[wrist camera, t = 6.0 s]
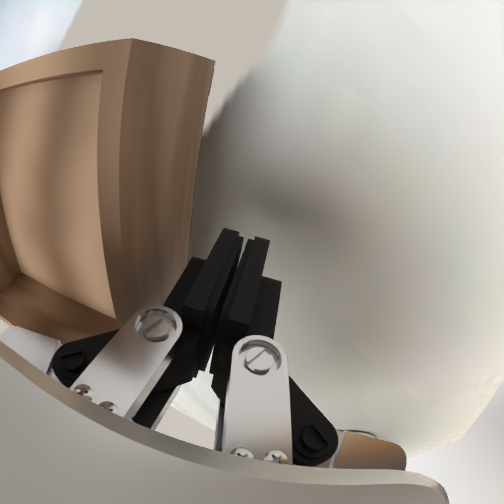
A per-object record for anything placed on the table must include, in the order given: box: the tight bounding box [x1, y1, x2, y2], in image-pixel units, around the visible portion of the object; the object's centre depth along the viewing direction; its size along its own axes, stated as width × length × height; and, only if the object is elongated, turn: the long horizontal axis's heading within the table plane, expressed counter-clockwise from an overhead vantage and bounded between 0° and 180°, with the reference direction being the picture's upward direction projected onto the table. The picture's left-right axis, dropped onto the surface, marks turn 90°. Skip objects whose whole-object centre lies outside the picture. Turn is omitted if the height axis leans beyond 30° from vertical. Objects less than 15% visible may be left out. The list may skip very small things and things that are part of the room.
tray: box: [0, 38, 215, 344], centre depth 11 cm, size 14×14×9 cm
